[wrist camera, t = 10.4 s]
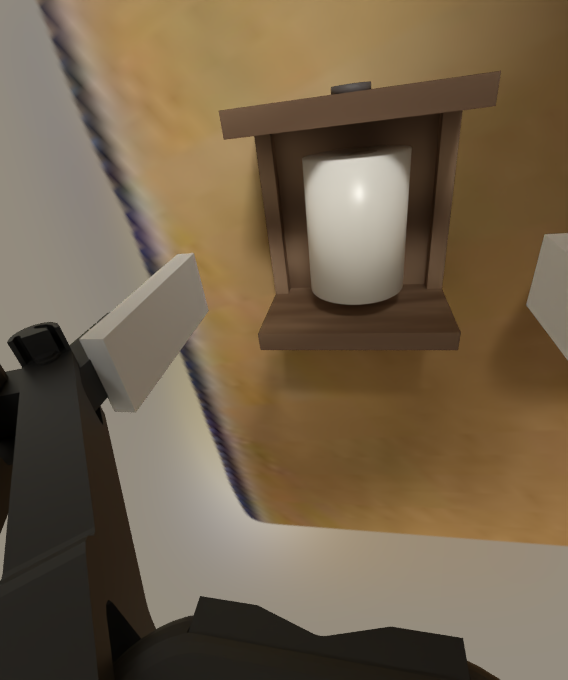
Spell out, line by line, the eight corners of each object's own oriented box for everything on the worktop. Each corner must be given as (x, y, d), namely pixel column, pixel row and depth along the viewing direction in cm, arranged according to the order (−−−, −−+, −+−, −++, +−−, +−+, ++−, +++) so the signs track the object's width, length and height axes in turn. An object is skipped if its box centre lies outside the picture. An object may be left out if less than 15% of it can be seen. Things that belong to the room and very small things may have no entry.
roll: (292, 155, 23) (317, 165, 18) (384, 143, 24) (433, 149, 19) (302, 276, 27) (324, 311, 22) (380, 263, 28) (419, 294, 23)
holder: (257, 101, 24) (216, 100, 17) (458, 72, 21) (502, 58, 15) (282, 301, 31) (261, 355, 24) (435, 297, 29) (456, 355, 22)
